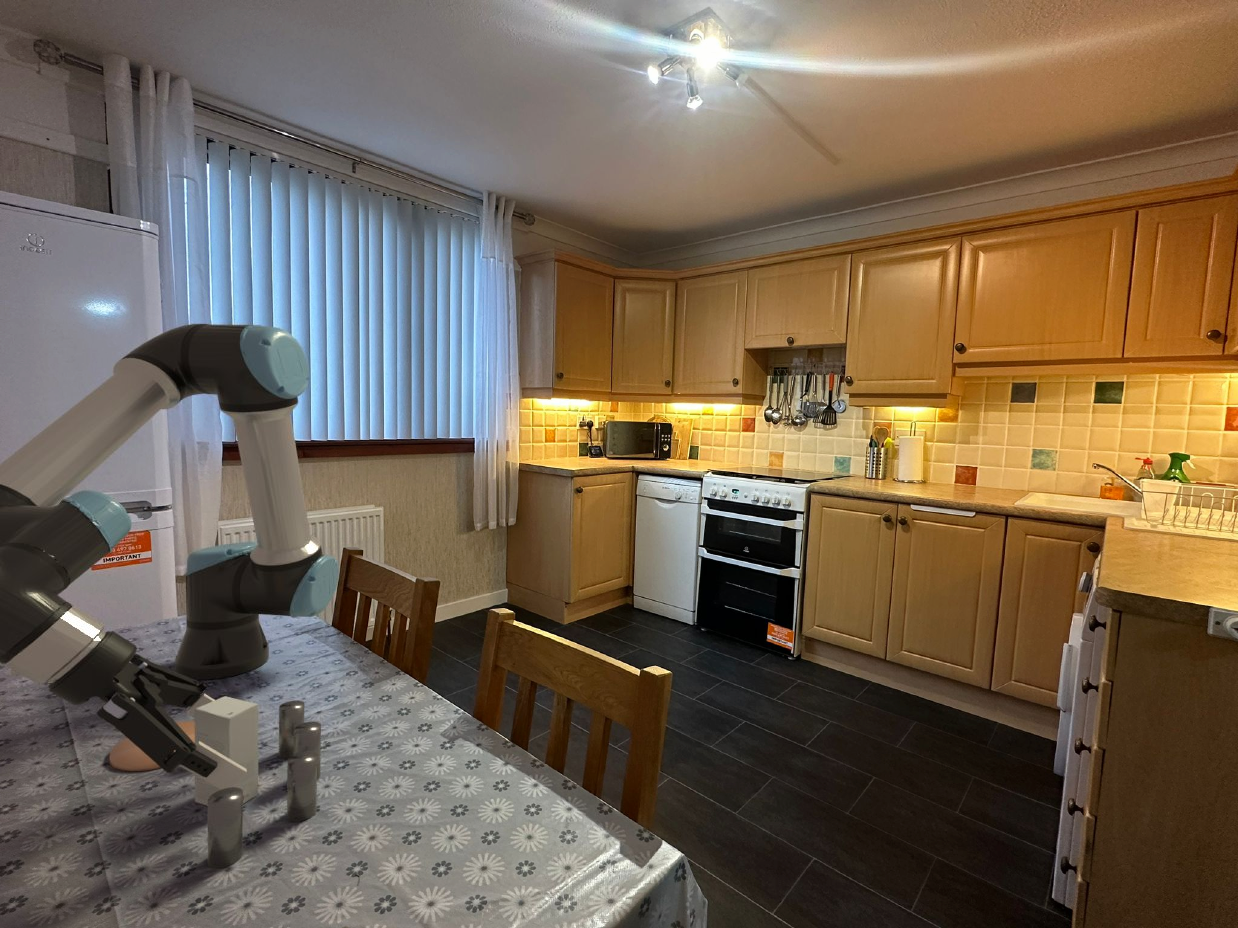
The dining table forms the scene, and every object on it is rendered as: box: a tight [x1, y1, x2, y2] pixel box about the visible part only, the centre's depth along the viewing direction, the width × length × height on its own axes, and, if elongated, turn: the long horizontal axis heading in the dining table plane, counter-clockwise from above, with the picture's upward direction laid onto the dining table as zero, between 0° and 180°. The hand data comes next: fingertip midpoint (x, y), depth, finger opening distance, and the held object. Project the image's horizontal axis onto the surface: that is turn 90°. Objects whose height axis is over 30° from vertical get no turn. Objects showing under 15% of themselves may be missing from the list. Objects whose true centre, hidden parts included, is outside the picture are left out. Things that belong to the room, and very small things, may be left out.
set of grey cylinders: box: [207, 700, 322, 870], centre depth 76 cm, size 21×24×7 cm
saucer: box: [109, 720, 195, 772], centre depth 86 cm, size 12×12×1 cm
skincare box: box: [194, 695, 259, 807], centre depth 75 cm, size 6×4×12 cm
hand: (237, 752), depth 75 cm, fingers open, 13 cm apart
